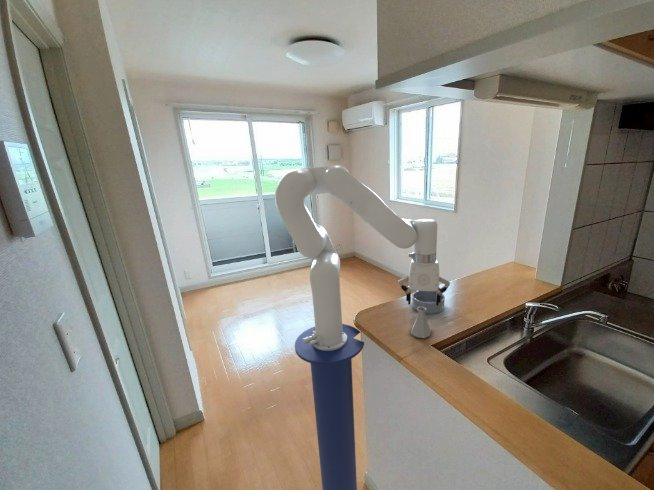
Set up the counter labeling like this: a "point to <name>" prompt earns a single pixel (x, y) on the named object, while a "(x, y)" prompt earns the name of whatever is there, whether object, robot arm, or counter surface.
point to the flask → (421, 324)
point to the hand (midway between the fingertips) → (423, 303)
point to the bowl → (427, 301)
